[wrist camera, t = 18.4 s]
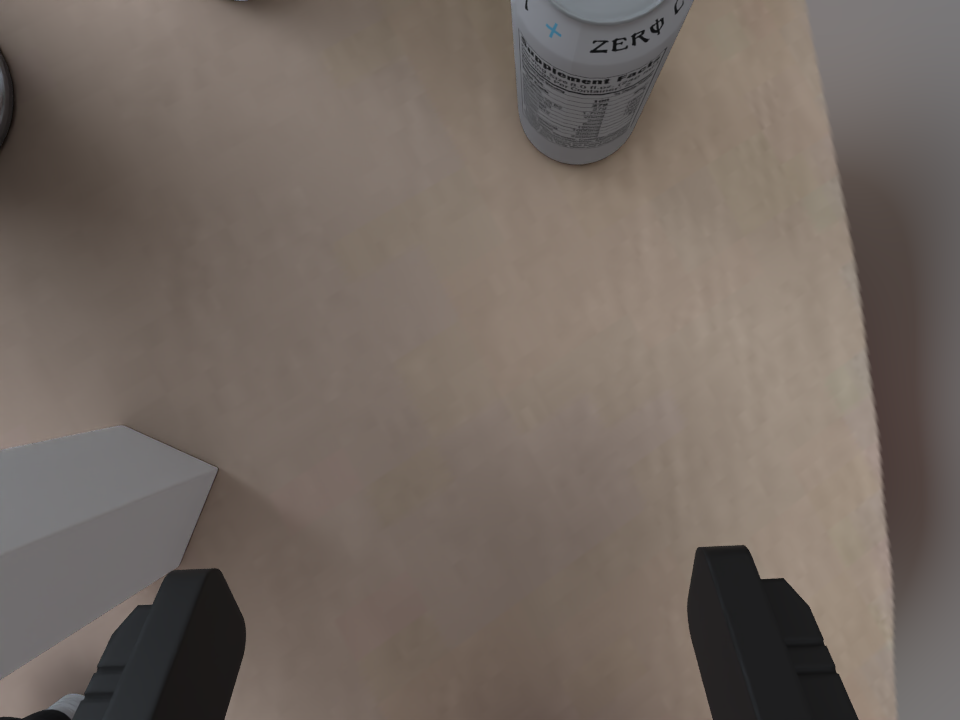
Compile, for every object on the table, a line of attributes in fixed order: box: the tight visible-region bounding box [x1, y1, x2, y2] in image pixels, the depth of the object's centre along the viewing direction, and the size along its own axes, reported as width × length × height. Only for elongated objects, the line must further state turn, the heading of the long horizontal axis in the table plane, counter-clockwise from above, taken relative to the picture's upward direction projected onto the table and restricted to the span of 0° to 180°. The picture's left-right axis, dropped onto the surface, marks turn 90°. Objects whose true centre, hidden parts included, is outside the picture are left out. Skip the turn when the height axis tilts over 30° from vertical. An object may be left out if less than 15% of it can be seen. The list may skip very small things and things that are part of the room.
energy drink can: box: [511, 0, 694, 164], centre depth 28 cm, size 6×6×15 cm
